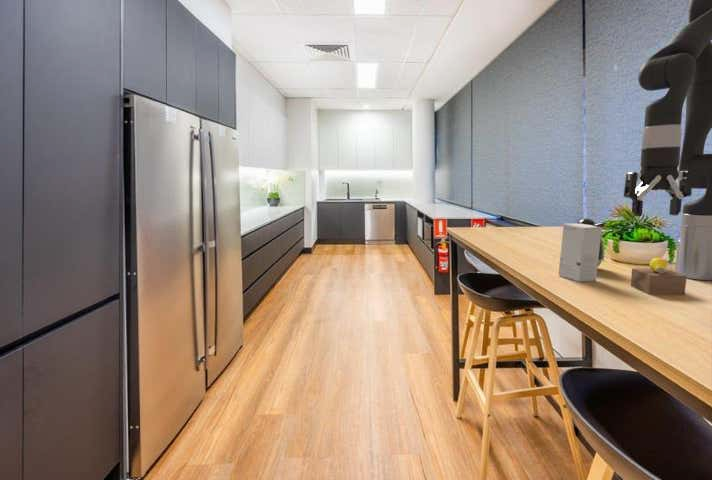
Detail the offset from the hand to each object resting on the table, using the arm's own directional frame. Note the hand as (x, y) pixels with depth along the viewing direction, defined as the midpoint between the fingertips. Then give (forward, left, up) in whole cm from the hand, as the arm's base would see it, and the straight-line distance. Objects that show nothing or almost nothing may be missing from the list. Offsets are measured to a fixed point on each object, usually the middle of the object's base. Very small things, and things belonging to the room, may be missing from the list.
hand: (655, 215), depth 104 cm
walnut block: (0, +2, -19) cm, 19 cm away
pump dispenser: (-26, -3, -19) cm, 32 cm away
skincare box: (-13, -11, -19) cm, 25 cm away
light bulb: (+1, +1, -14) cm, 14 cm away
